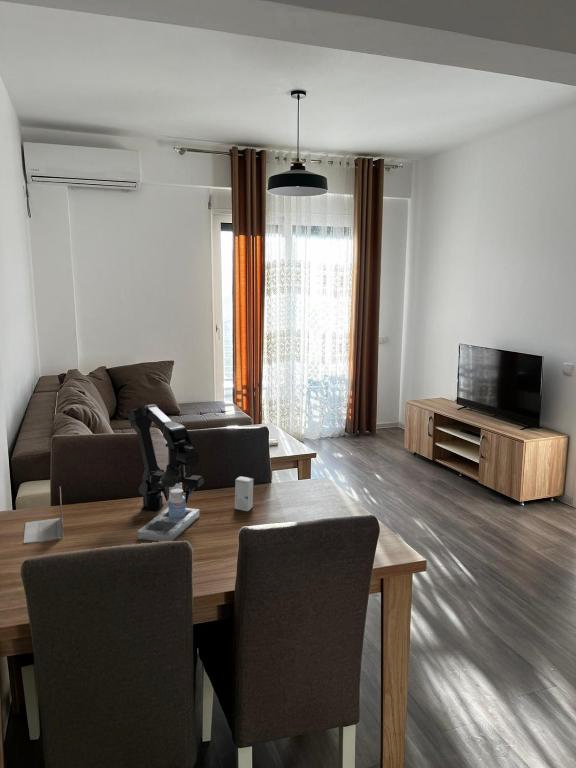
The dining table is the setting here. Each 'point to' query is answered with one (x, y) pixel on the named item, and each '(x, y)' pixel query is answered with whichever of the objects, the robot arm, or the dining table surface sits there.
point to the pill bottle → (176, 504)
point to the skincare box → (243, 493)
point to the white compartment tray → (167, 526)
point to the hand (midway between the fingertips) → (177, 501)
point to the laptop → (44, 529)
